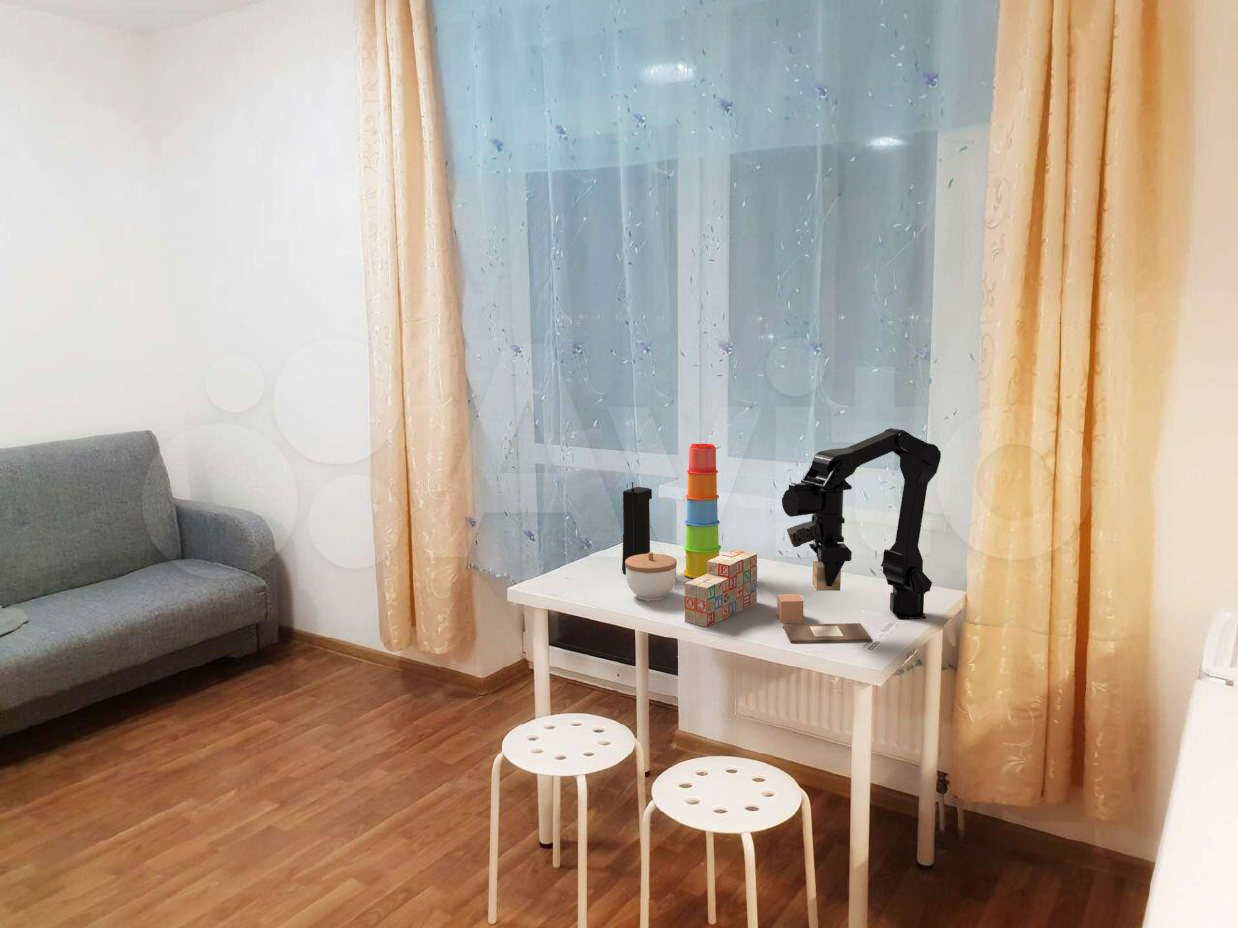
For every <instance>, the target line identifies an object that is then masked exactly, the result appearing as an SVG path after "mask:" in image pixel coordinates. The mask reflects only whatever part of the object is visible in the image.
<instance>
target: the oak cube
mask: <svg viewBox="0 0 1238 928" xmlns="http://www.w3.org/2000/svg"><path fill="white" fill-rule="evenodd" d="M811 580H812V583H811V584H812V586H813V588H814V589H815V591H817V592H818V591H820V592H821V591H824V592H826V591H831V592H833V591H837V592H838V591H840V592H841V582H842V569H841V570H840V571H839V573H838V575H837V577H836V579H835V581H834V583H833V585H832V586H826V580H825V573H824V566H823V563H822V562H821V561H818V560H815V561H812V579H811Z"/></svg>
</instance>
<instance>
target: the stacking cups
mask: <svg viewBox="0 0 1238 928" xmlns="http://www.w3.org/2000/svg"><path fill="white" fill-rule="evenodd" d="M715 446H716V445H715V444H712V443H691V444H690V447H689V449H688V469H687V470H686V473H687V494H686V495H685V498H686V520H685V521H684V524H685V526H686V527H685V534H686V535H685V537H686V538H685V539H686V540H685V541H686V543H685V545H684V546H683V550H684V551H685V570H683V575H684V576H685V577H687V578H690V579H696V578H698V577H701V576H703V575H705V574H707V561H709V560H711V559H714V558H716V557H718V556H720V550H721V549H722V546H721V545H719V524H720V523H721V522H720V520H719V519H718V518H719V517H718V515H719V513H718V512H719V511H718V499H719V498H720V496H719V494H718V490H717V489H718V488H717V485H718V482H717V479H718V478H717V477H718V476H717V475H718V474H717V473H718V472H719V471H718V470H717V447H715Z"/></svg>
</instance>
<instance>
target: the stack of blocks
mask: <svg viewBox="0 0 1238 928" xmlns="http://www.w3.org/2000/svg"><path fill="white" fill-rule="evenodd" d="M757 578H758V554H757V553H753V552H749V551H745V550H744V551H743V550H738V549H737V550H736V549H735V550H732V551H728V552H727V551H726V552H724V553H722V554H721V555H719V556H718V557H716V558H714V559H711V560H709V561H707V574H705V575H703V576H701V577H698V578H692V579H691V580H690V581H689V580H688V581H686V582H685V583H684V622H686V623H691V624H694V625H698V626H701V627H702V626H703V627H704V628H705V627H709V626H711V625H713V624H716V623H718V622H720V621H721V620H724V619H726V618H728V617H730V616H732V615H734V614H736V613H737V612H740V611H741V610H742V611H743V610H744V609H746V608H748V607H750V606H753V605H755V604H756V603H757V602H758V597H757V596H758V585H757V583H758V581H757V580H758V579H757Z"/></svg>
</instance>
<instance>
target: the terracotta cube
mask: <svg viewBox="0 0 1238 928" xmlns="http://www.w3.org/2000/svg"><path fill="white" fill-rule="evenodd" d="M776 597H777V598H776V599H777V600H776V601H777V602H776V605H777V607H776V616H777V618H778V619H779V622H780V623H785V624H787V623H804V600H803V598H802V597H801V594H800V593H790V594H789V593H788V594H787V593H785V594H784V593H783V594H777V595H776Z"/></svg>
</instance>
